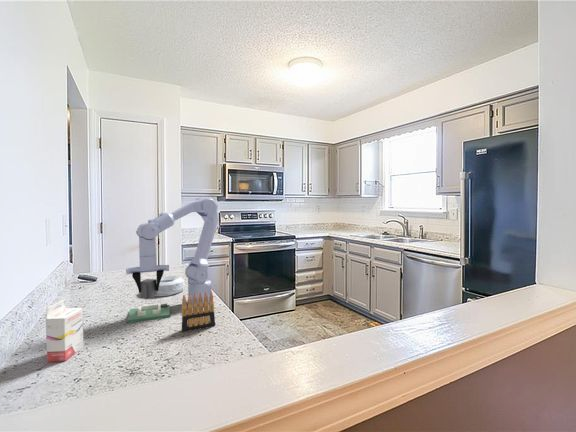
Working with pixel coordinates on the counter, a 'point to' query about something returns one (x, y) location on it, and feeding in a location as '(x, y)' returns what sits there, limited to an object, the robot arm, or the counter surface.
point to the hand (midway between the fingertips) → (149, 291)
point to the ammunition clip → (197, 313)
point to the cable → (170, 285)
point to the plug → (148, 288)
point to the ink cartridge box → (63, 331)
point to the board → (149, 313)
